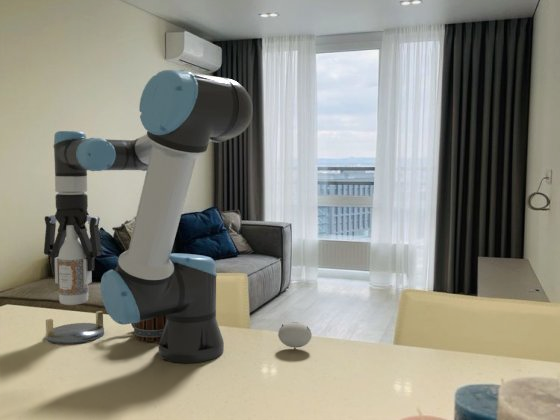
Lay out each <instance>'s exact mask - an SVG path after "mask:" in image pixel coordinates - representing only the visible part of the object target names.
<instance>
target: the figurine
mask: <svg viewBox="0 0 560 420" xmlns="http://www.w3.org/2000/svg"><path fill="white" fill-rule="evenodd" d="M277 336H278V339H279V341H280V342H281V343H282V344H283V345H284V346H286V347H290V348H293V350H294V351H296V350H297V348H301V347H304V346H306V345H307V344H308V343H310V342H311V339H312V331H311V329H310V327H309V326H308V325H307V324H304V323H303V322H299V321H290V322H286V323H284V324H281V327H280V328H279V329H278V334H277Z"/></svg>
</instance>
